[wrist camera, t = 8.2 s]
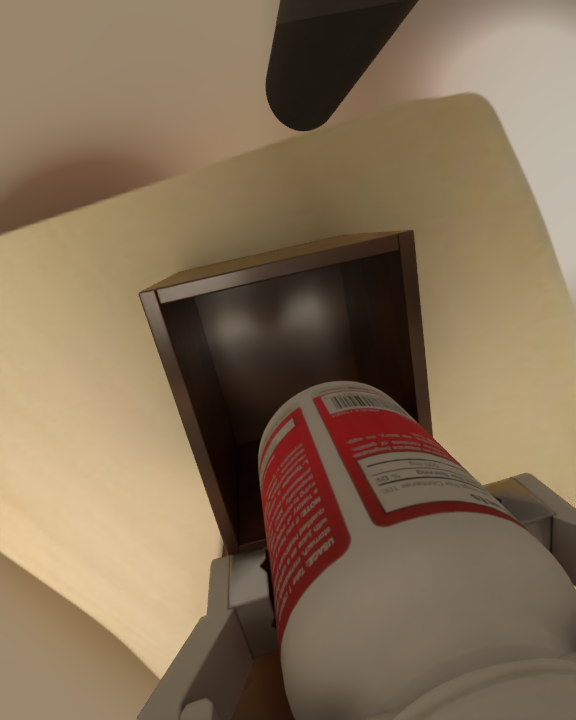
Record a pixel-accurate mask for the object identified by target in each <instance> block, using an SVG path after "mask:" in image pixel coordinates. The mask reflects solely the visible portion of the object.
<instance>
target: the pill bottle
mask: <svg viewBox="0 0 576 720" xmlns="http://www.w3.org/2000/svg"><path fill="white" fill-rule="evenodd" d="M258 467H259V481H260V489H261V498H262V507H263V515H264V524H265V532H266V540H267V550H268V557H269V565H270V575H271V583H272V591H273V601H274V608H275V618H276V627H277V635H278V645H279V653H280V661H281V667H282V673H283V679H284V686H285V691H286V696H287V699H288V702H289V705H290V708H291V711H292V714H293V716H294V718H295V720H360V719H363V718H366V717H369V716H373V715H376V714H379V713H382V712H385V711H389V710H399V711H402V712H401V713H400V714H398V715H397V716H396V717H395V718H394V719H393V720H576V663H575V662H572V661H568V660H562V659H557V658H558V657H561V656H564V655H567V654H570V653H574V652H576V590H575V588H574V586H573V584H572V582H571V580H570V578H569V577H568V575H567V573H566V572H565V570H564V569H563V568H562V566H561V565H560V564H559V562H558V561H557V560H556V558H555V557H554V556H553V555H552V554H551V553H550V552H549V551H548V550H547V549H546V548H545V547H544V546H543V545H542V544H541V543H540V542H539V541H538V539H537V538H536V537H535V536H534V535H533V534H531V533H530V532H529V530H528V529H527V528H525V527H524V526H523V525H522V524H521V523H520V522H519V521H518V520H517V519H516V518H515V517H514V516H513V515H512V514H511V513H510V512H509V511H508V510H507V509H506V508H505V507H504V506H503V505H502V504H501V503H500V502H499V501H497V500H496V499H495V498H494V497H493V496H492V495H491V494H490V493H489V492H488V491H487V490H486V489H485V488H484V487H483V486H482V485H481V484H480V483H479V482H478V481H477V480H476V479H475V478H474V477H473V476H472V475H471V474H470V473H469V472H468V471H467V470H466V469H464V468H463V467H462V466H461V465H460V464H459V463H458V462H457V461H456V460H455V459H454V458H453V457H452V456H451V455H450V454H449V453H448V452H447V451H446V450H445V449H444V448H443V447H442V446H441V445H440V444H439V443H438V442H437V441H436V440H435V439H434V438H433V437H432V436H431V435H430V434H429V433H428V432H427V431H426V430H425V429H423V428H422V427H421V426H420V425H419V424H418V423H417V422H416V421H415V420H414V419H413V418H412V417H411V416H410V415H409V414H408V413H407V412H406V411H405V410H404V409H403V408H402V407H401V406H400V405H399V404H398V403H396V402H395V401H394V400H393V399H392V398H390V397H389V396H388V395H386V394H385V393H384V392H382V391H380V390H378V389H376V388H374V387H372V386H370V385H367V384H363V383H359V382H353V381H333V382H326V383H322V384H318V385H315V386H313V387H310V388H308V389H306V390H304V391H302V392H300V393H298V394H297V395H295V396H294V397H292V398H291V399H289V400H288V401H287V402H286V403H285V404H284V405H282V406H281V407H280V408H279V410H278V411H277V412H276V413H275V414H274V416H273V417H272V418H271V420H270V421H269V423H268V425H267V427H266V428H265V431H264V433H263V436H262V439H261V442H260V447H259V454H258Z"/></svg>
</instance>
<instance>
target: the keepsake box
mask: <svg viewBox="0 0 576 720" xmlns="http://www.w3.org/2000/svg"><path fill="white" fill-rule="evenodd" d="M139 297H140V300H141V303H142V306H143V309H144V312H145V314H146V317H147V320H148V323H149V326H150V329H151V332H152V335H153V338H154V341H155V344H156V347H157V349H158V352H159V355H160V358H161V361H162V364H163V367H164V370H165V373H166V376H167V379H168V382H169V385H170V387H171V390H172V393H173V396H174V399H175V402H176V405H177V408H178V411H179V414H180V417H181V420H182V423H183V425H184V428H185V431H186V434H187V437H188V440H189V443H190V446H191V449H192V452H193V455H194V458H195V460H196V463H197V466H198V469H199V472H200V475H201V478H202V481H203V484H204V487H205V490H206V493H207V496H208V498H209V501H210V504H211V507H212V510H213V513H214V516H215V519H216V522H217V525H218V528H219V531H220V533H221V536H222V539H223V542H224V545H225V548H226V551H227V554H228V556H230V555H232V554H236V553H240V552H244V551H248V550H252V549H256V548H260V547H264V546H265V547H266V548H267V540H266V532H265V524H264V515H263V507H262V498H261V489H260V481H259V467H258V454H259V447H260V442H261V439H262V436H263V433H264V431H265V428H266V427H267V425H268V423H269V421H270V420H271V418H272V417H273V416H274V414H275V413H276V412H277V411H278V410H279V408H280V407H281V406H282V405H284V404H285V403H286V402H287V401H288V400H289V399H291V398H292V397H294V396H295V395H297V394H298V393H300V392H302V391H304V390H306V389H308V388H310V387H313V386H315V385H318V384H322V383H326V382H333V381H353V382H359V383H363V384H367V385H370V386H372V387H374V388H376V389H378V390H380V391H382V392H384V393H385V394H386V395H388V396H389V397H390V398H392V399H393V400H394V401H395V402H396V403H398V404H399V405H400V406H401V407H402V408H403V409H404V410H405V411H406V412H407V413H408V414H409V415H410V416H411V417H412V418H413V419H414V420H415V421H416V422H417V423H418V424H419V425H420V426H421V427H422V428H423V429H425V430H426V431H427V432H428V433H429V434H430V435H431V436H432V437H433V433H432V422H431V412H430V401H429V390H428V380H427V369H426V359H425V348H424V337H423V327H422V316H421V305H420V295H419V284H418V273H417V263H416V252H415V242H414V231H413V230H406V231H392V232H378V233H364V234H351V235H340V236H336V237H332V238H327V239H323V240H318V241H314V242H309V243H305V244H301V245H296V246H292V247H287V248H283V249H278V250H274V251H270V252H265V253H261V254H256V255H252V256H247V257H243V258H239V259H234V260H230V261H225V262H221V263H216V264H212V265H208V266H203V267H199V268H194V269H190V270H186V271H181V272H178V273H176V274H174V275H172V276H170V277H168V278H166V279H164V280H162V281H160V282H158V283H157V284H155V285H153V286H151V287H149V288H147V289H145V290H143V291H141V292H139Z"/></svg>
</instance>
